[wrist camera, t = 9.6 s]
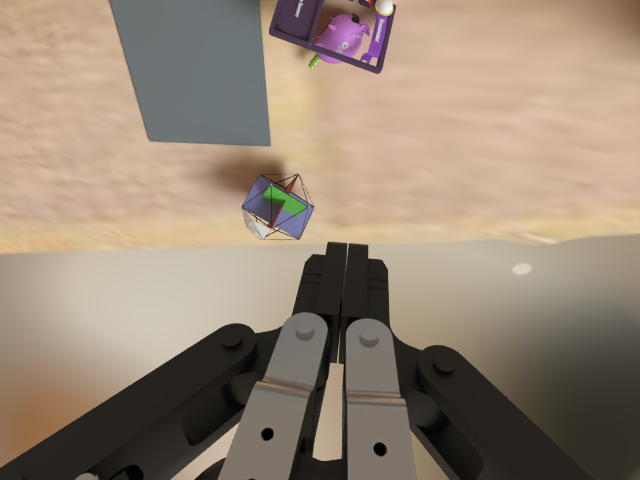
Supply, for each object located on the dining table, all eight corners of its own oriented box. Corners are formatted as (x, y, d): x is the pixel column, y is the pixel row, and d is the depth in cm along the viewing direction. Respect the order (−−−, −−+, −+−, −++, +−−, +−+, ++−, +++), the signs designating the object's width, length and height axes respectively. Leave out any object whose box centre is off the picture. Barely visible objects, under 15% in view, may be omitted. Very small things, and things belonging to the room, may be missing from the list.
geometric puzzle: (274, 146, 38) (256, 182, 32) (329, 180, 40) (322, 221, 34) (245, 195, 42) (223, 236, 36) (296, 224, 44) (284, 268, 37)
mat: (257, -19, 30) (256, -19, 30) (270, 145, 38) (270, 146, 38) (105, -21, 31) (104, -21, 31) (150, 140, 39) (149, 141, 39)
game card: (292, -49, 28) (400, -6, 29) (284, 5, 33) (377, 40, 34) (269, 23, 26) (385, 65, 28) (264, 68, 31) (363, 102, 33)
